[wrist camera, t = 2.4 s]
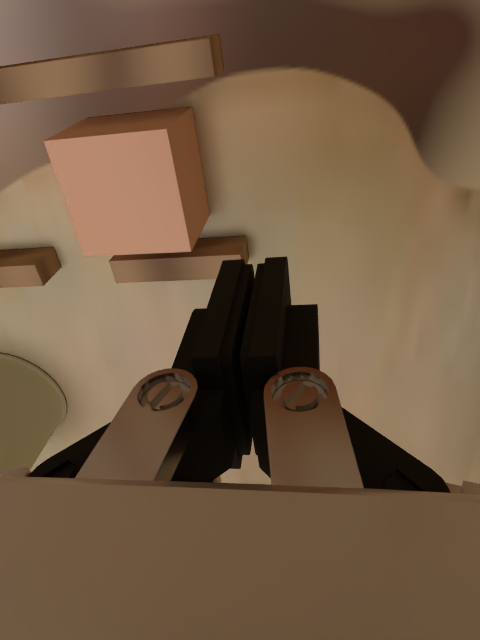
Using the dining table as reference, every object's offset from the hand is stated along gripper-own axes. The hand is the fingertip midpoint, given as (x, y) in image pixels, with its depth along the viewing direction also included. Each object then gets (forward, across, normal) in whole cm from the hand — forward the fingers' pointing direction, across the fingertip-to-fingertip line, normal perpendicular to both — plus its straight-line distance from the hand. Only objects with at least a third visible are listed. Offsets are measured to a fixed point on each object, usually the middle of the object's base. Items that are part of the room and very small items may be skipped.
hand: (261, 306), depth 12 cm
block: (+15, +8, 0) cm, 17 cm away
